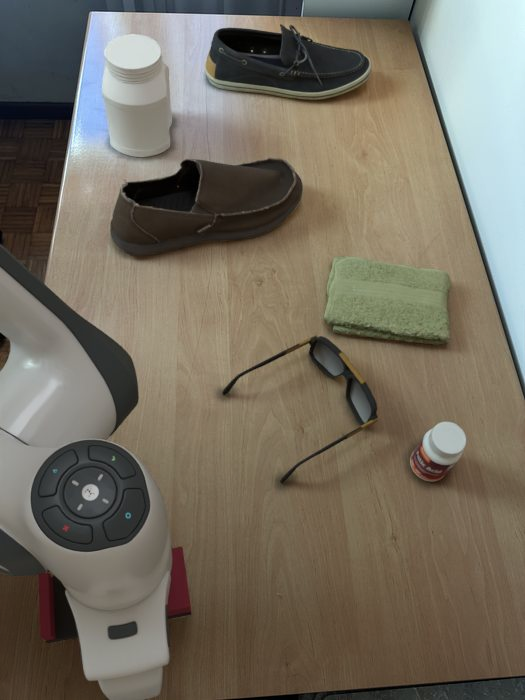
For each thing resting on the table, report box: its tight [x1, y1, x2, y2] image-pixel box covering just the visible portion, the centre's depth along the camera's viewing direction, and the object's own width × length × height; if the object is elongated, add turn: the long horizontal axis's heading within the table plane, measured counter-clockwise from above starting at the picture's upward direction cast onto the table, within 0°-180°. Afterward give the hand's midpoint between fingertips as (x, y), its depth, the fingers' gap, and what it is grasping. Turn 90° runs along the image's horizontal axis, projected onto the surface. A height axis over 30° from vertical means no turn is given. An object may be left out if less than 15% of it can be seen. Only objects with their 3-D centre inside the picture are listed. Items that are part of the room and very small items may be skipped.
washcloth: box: [323, 256, 452, 346], centre depth 93 cm, size 13×18×3 cm
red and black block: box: [37, 546, 192, 645], centre depth 65 cm, size 14×6×4 cm, turn 102°
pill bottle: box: [409, 421, 467, 483], centre depth 79 cm, size 5×5×8 cm
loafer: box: [109, 157, 304, 257], centre depth 96 cm, size 11×30×11 cm, turn 116°
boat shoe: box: [204, 23, 373, 101], centre depth 115 cm, size 11×29×9 cm, turn 89°
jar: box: [101, 33, 173, 158], centre depth 103 cm, size 12×10×15 cm
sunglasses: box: [221, 334, 381, 484], centre depth 83 cm, size 14×15×5 cm
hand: (131, 592), depth 66 cm, fingers closed on red and black block, 6 cm apart
